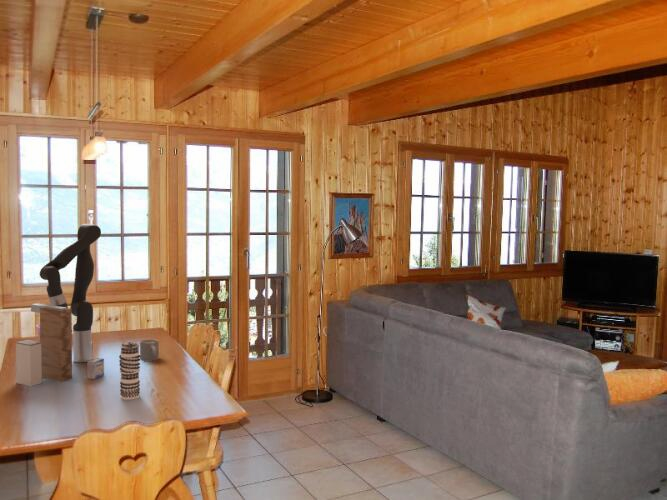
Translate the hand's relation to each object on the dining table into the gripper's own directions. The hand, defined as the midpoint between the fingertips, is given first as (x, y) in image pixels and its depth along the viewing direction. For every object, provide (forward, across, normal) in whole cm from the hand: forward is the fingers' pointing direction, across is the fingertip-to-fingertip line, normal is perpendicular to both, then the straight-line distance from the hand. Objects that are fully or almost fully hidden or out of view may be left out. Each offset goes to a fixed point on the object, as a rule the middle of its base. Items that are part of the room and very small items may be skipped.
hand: (67, 332), depth 320 cm
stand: (+16, -16, +16) cm, 28 cm away
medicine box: (+21, -27, +2) cm, 34 cm away
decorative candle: (+22, -66, +4) cm, 70 cm away
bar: (-16, -13, +10) cm, 23 cm away
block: (+13, -17, +29) cm, 36 cm away
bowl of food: (+18, +57, -10) cm, 61 cm away
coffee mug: (+29, -13, -34) cm, 46 cm away
